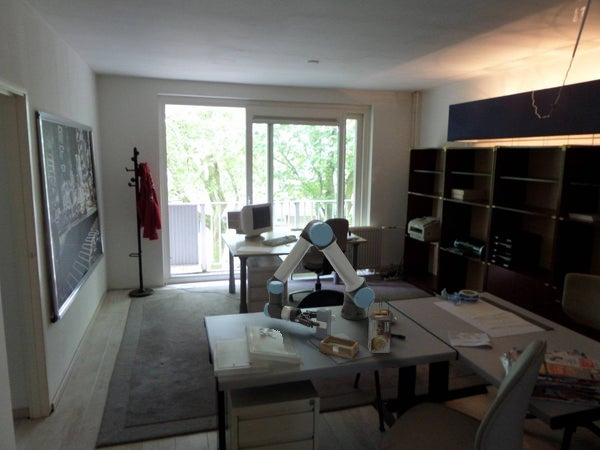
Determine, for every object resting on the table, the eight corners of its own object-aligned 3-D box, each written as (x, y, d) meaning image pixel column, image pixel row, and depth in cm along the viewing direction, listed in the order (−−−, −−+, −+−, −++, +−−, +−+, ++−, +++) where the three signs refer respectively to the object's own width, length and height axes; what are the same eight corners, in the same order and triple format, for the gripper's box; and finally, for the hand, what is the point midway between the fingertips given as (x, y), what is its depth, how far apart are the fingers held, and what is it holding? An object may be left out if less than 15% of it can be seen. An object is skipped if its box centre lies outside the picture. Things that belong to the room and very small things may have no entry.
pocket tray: (327, 343, 203) (328, 335, 203) (358, 350, 197) (358, 341, 196) (319, 351, 194) (319, 342, 194) (351, 358, 187) (351, 349, 187)
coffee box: (386, 347, 201) (388, 314, 199) (389, 353, 194) (391, 319, 192) (367, 347, 200) (369, 314, 198) (370, 353, 194) (372, 319, 192)
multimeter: (373, 344, 204) (375, 304, 202) (364, 336, 214) (366, 298, 211) (400, 342, 208) (402, 302, 205) (390, 334, 218) (392, 297, 215)
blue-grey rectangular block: (316, 333, 216) (317, 305, 214) (334, 337, 212) (335, 308, 210) (312, 336, 212) (313, 308, 210) (330, 340, 207) (331, 311, 206)
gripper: (301, 314, 230) (339, 321, 220) (280, 328, 208) (321, 337, 199) (302, 301, 229) (339, 308, 219) (281, 314, 207) (321, 321, 198)
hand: (330, 321), depth 209 cm, fingers open, 11 cm apart
